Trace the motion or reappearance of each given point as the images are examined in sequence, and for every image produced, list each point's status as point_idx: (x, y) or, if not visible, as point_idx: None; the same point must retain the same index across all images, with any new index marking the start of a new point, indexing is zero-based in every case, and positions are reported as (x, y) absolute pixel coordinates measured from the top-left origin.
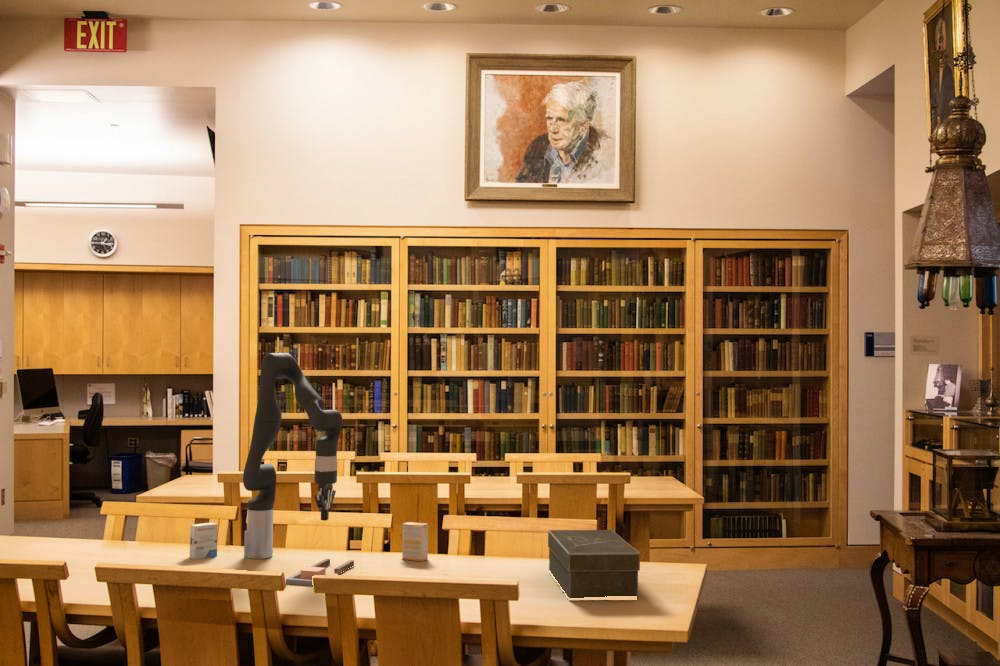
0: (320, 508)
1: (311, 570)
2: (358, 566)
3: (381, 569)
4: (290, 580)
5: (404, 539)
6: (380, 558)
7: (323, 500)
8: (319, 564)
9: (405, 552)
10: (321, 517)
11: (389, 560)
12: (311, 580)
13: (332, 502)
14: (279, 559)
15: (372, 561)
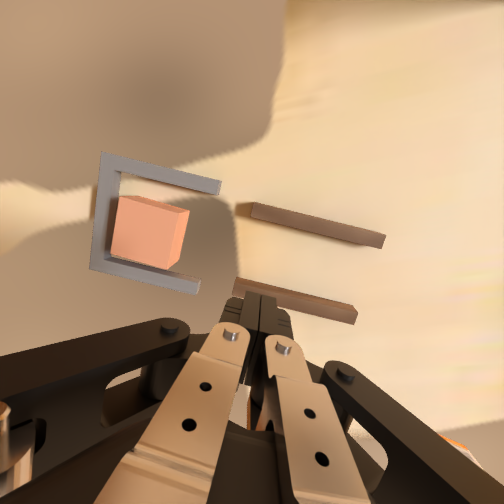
0: (216, 329)
1: (122, 232)
2: (347, 328)
3: None
4: (101, 170)
5: None
6: (457, 377)
7: (49, 456)
8: (295, 227)
9: None
10: (227, 302)
11: (426, 401)
12: (97, 235)
13: (355, 461)
14: (476, 45)
15: (415, 359)
